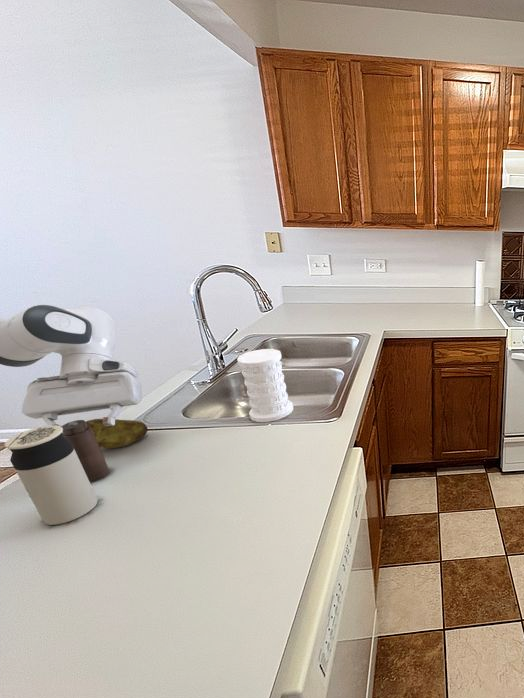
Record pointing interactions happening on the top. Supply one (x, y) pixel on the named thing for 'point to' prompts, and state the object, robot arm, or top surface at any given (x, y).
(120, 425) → the green pickle
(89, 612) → the top surface
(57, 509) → the travel mug
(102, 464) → the pepper mill
